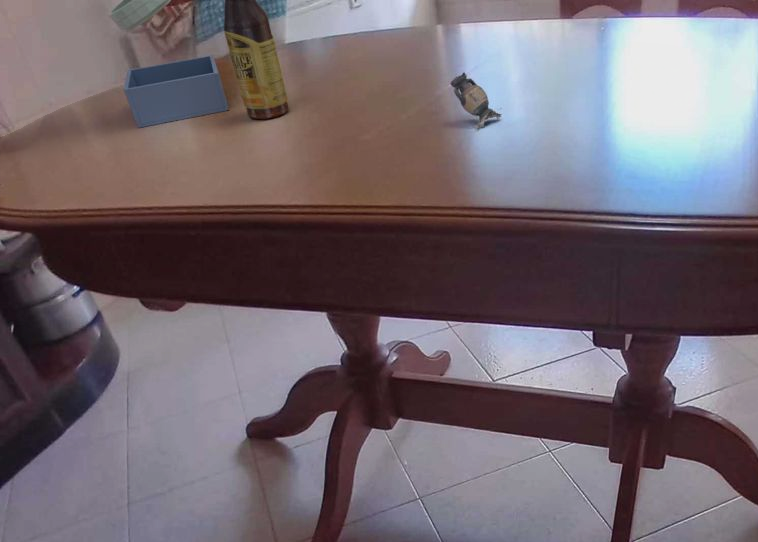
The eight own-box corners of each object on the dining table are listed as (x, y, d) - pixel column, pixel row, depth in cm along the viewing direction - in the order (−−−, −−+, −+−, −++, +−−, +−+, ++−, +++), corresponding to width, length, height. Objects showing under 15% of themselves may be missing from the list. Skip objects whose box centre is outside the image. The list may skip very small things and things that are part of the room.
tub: (138, 128, 103) (123, 90, 100) (140, 105, 113) (127, 69, 110) (229, 110, 106) (218, 72, 103) (223, 89, 117) (213, 54, 113)
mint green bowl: (122, 38, 95) (105, 19, 93) (125, 27, 102) (110, 9, 100) (176, -1, 95) (160, -20, 93) (175, -10, 102) (161, -28, 100)
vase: (445, 125, 92) (439, 77, 88) (474, 112, 95) (469, 66, 91) (474, 132, 88) (469, 83, 85) (503, 119, 91) (499, 71, 88)
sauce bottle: (240, 116, 103) (195, -36, 91) (278, 104, 106) (238, -44, 95) (261, 124, 99) (216, -34, 87) (299, 112, 102) (261, -42, 90)
